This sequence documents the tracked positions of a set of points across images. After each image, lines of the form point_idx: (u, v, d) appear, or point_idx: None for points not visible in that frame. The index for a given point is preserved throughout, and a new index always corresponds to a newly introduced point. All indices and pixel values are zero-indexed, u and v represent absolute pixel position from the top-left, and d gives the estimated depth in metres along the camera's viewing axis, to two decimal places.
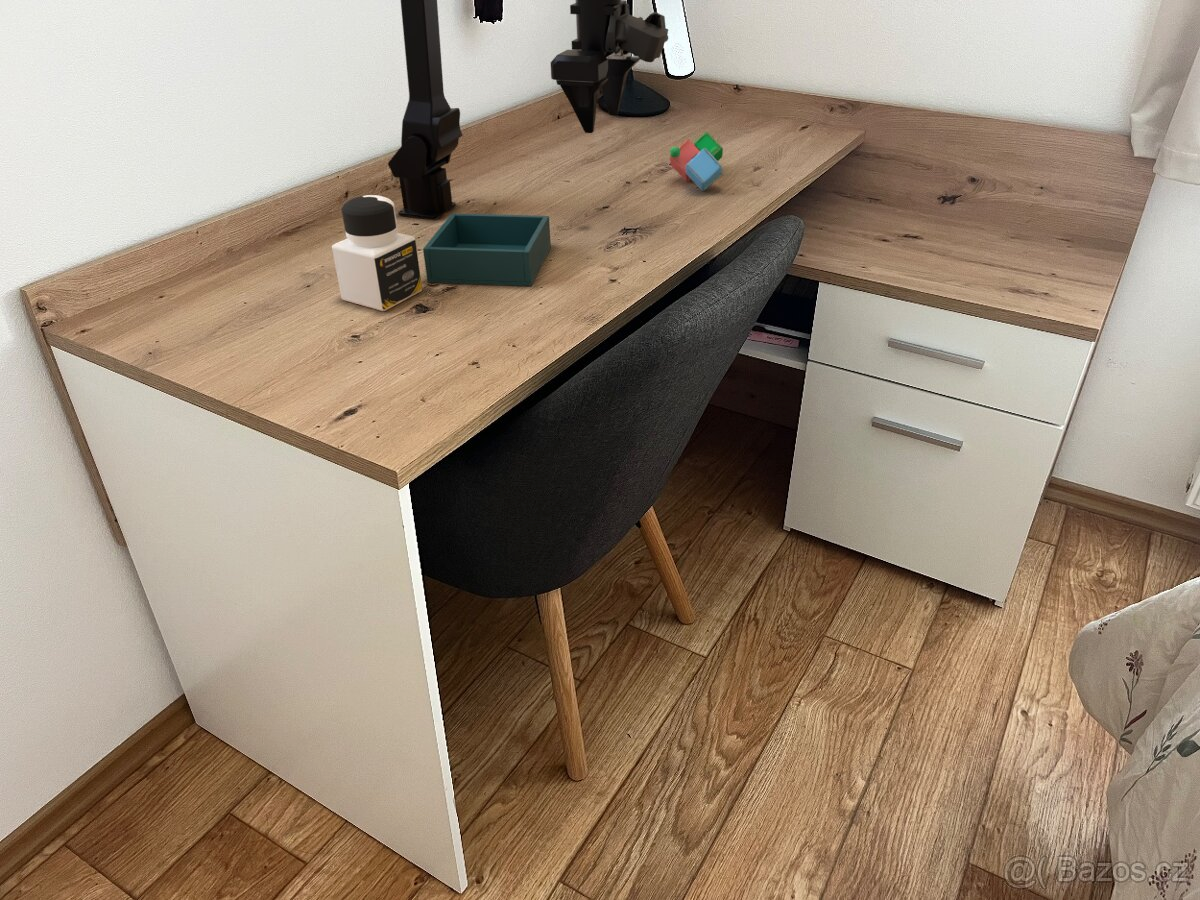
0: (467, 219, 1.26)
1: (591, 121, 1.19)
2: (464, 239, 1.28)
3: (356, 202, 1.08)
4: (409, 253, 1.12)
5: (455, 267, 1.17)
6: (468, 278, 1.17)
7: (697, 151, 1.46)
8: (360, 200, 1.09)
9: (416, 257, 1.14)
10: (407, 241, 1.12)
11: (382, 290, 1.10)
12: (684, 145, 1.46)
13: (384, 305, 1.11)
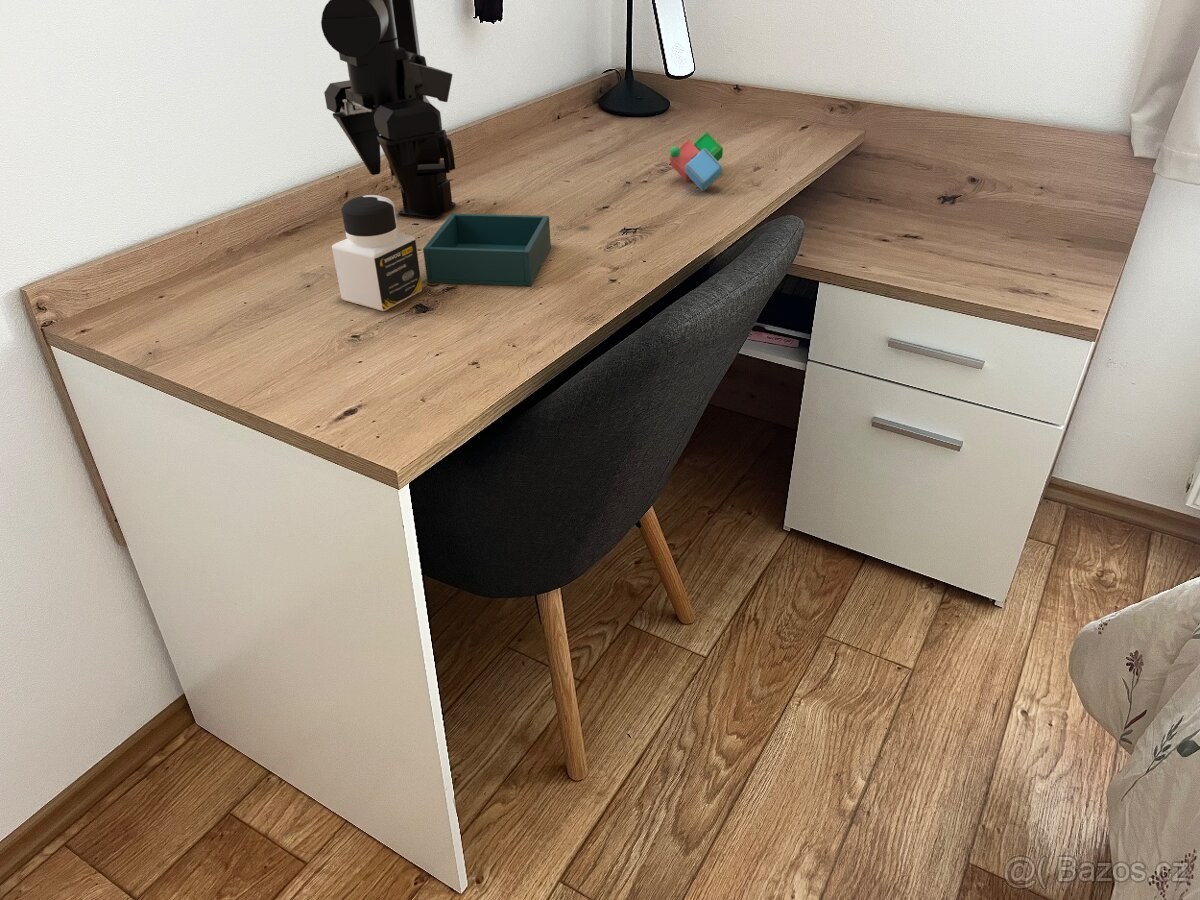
0: (467, 219, 1.26)
1: (413, 179, 1.06)
2: (464, 239, 1.28)
3: (356, 202, 1.08)
4: (409, 253, 1.12)
5: (455, 267, 1.17)
6: (468, 278, 1.17)
7: (697, 151, 1.46)
8: (360, 200, 1.09)
9: (416, 257, 1.14)
10: (407, 241, 1.12)
11: (382, 290, 1.10)
12: (684, 145, 1.46)
13: (384, 305, 1.11)
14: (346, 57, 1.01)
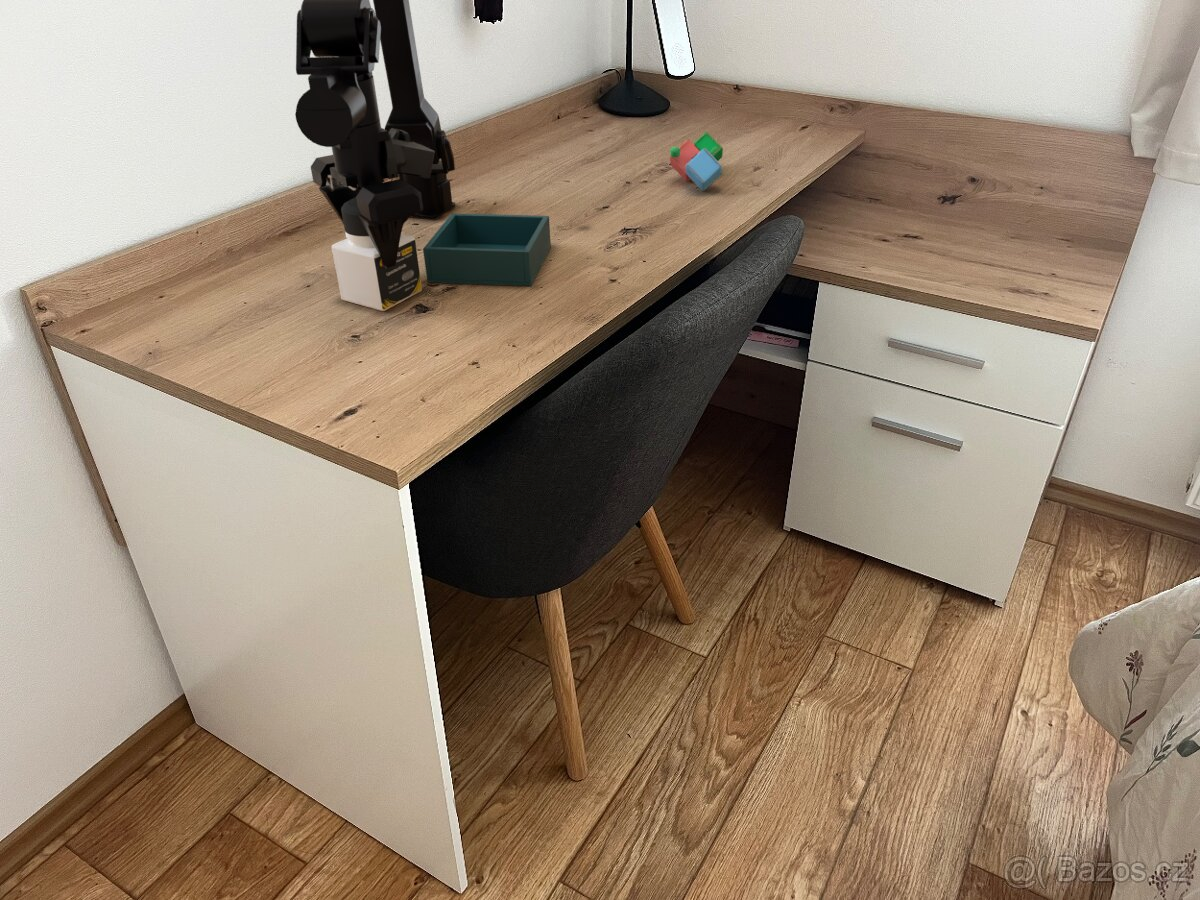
0: (467, 219, 1.26)
1: (395, 253, 1.08)
2: (464, 239, 1.28)
3: (356, 202, 1.08)
4: (409, 253, 1.12)
5: (455, 267, 1.17)
6: (468, 278, 1.17)
7: (697, 151, 1.46)
8: None
9: (416, 257, 1.14)
10: (406, 240, 1.12)
11: (382, 290, 1.10)
12: (684, 145, 1.46)
13: (384, 305, 1.11)
14: None
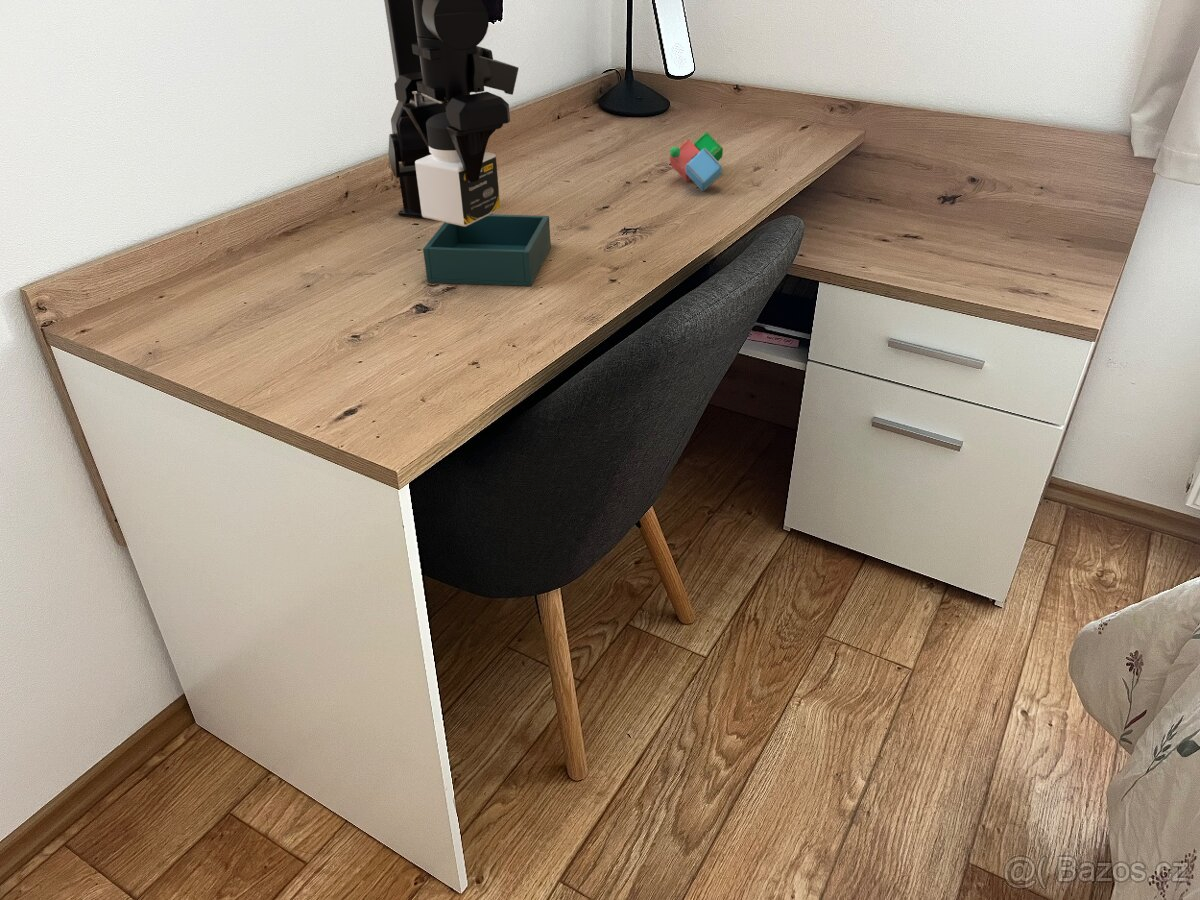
0: None
1: (479, 168, 1.10)
2: (464, 239, 1.28)
3: (441, 116, 1.10)
4: (490, 170, 1.14)
5: (455, 267, 1.17)
6: (468, 278, 1.17)
7: (697, 151, 1.46)
8: (444, 115, 1.11)
9: (496, 175, 1.15)
10: (488, 157, 1.13)
11: (464, 205, 1.12)
12: (684, 145, 1.46)
13: (465, 220, 1.13)
14: (419, 51, 1.06)
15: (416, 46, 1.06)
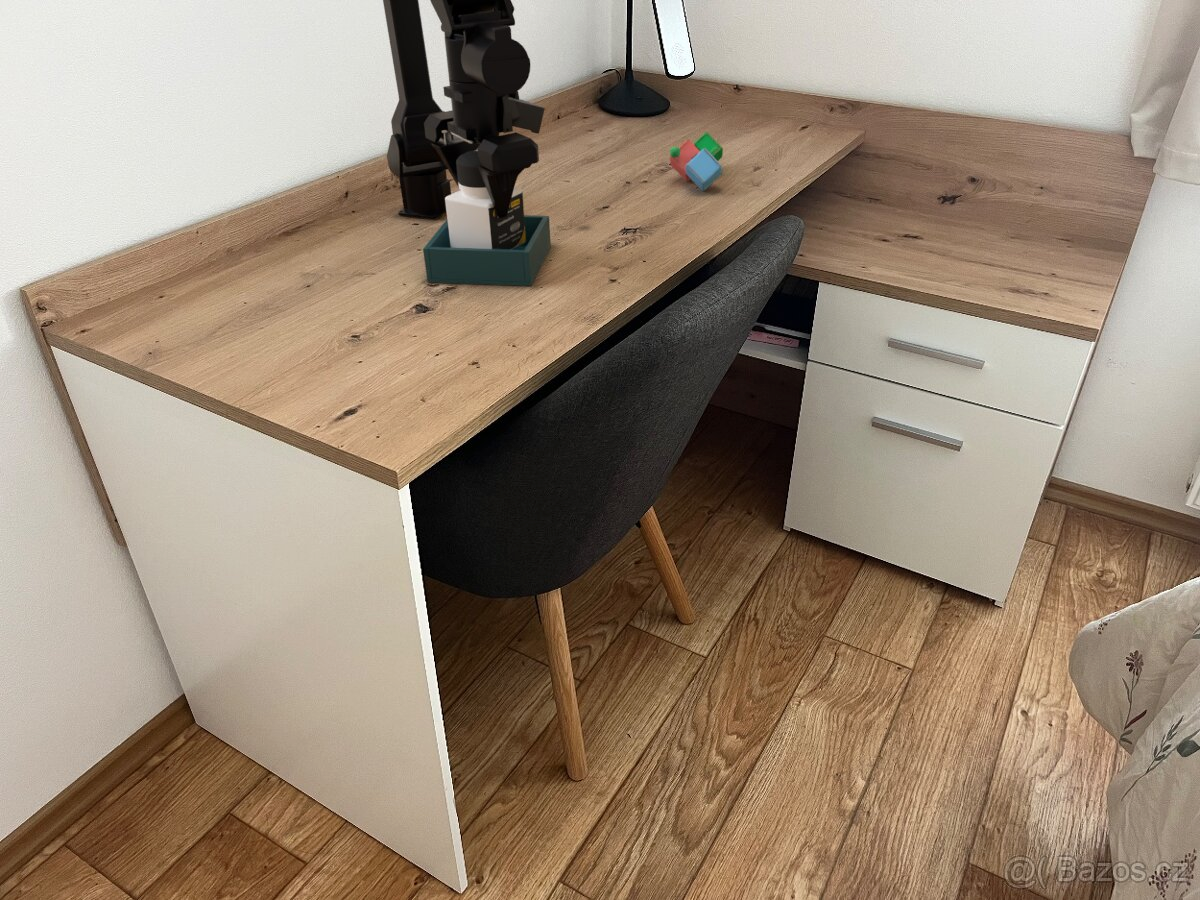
0: None
1: (508, 204, 1.15)
2: None
3: (470, 155, 1.15)
4: (517, 205, 1.19)
5: (455, 267, 1.17)
6: (468, 278, 1.17)
7: (697, 151, 1.46)
8: (474, 154, 1.15)
9: (522, 209, 1.20)
10: (515, 193, 1.18)
11: (493, 239, 1.16)
12: (684, 145, 1.46)
13: None
14: (451, 94, 1.10)
15: (448, 89, 1.10)
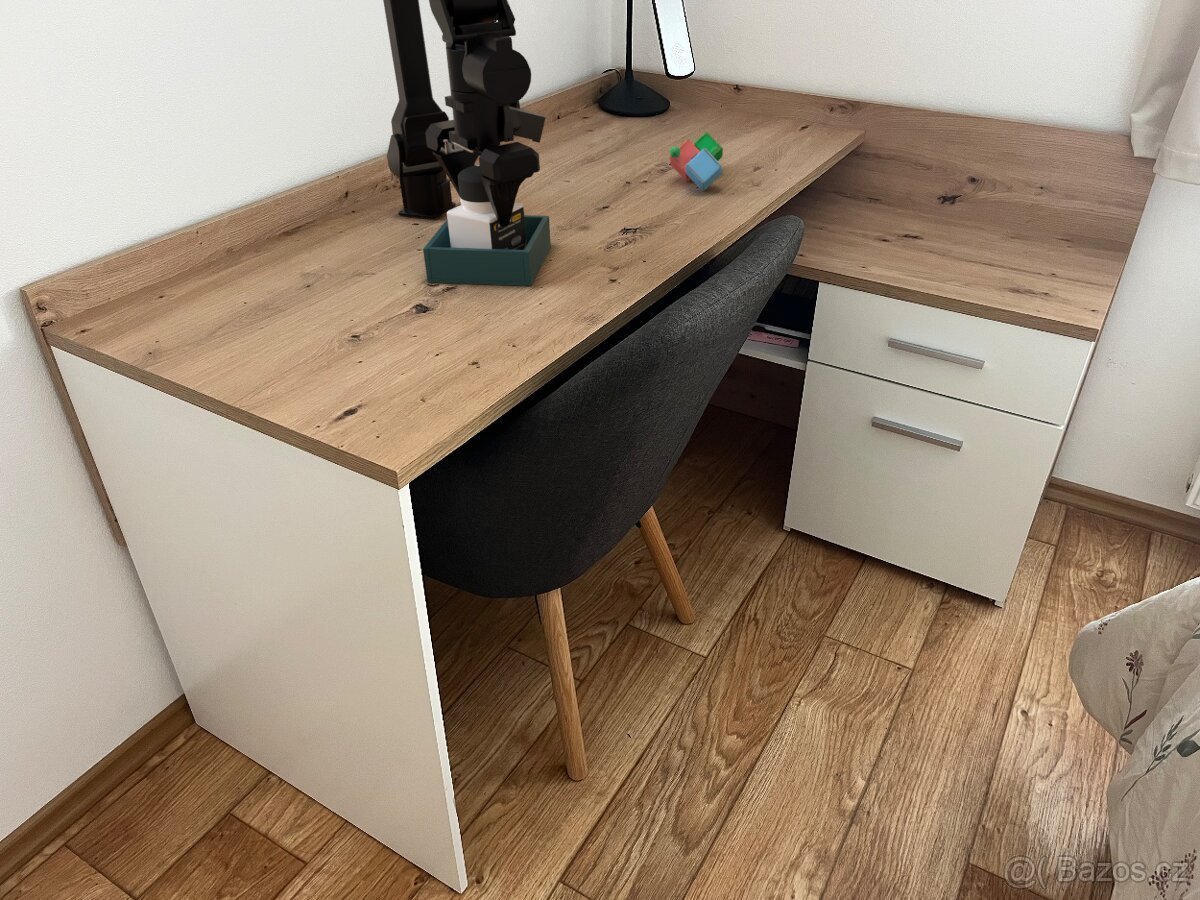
0: None
1: (510, 213, 1.15)
2: None
3: (472, 170, 1.16)
4: (518, 219, 1.20)
5: (455, 267, 1.17)
6: (468, 278, 1.17)
7: (697, 151, 1.46)
8: (475, 169, 1.16)
9: (523, 223, 1.21)
10: (516, 207, 1.19)
11: None
12: (684, 145, 1.46)
13: None
14: (452, 104, 1.11)
15: (449, 99, 1.11)
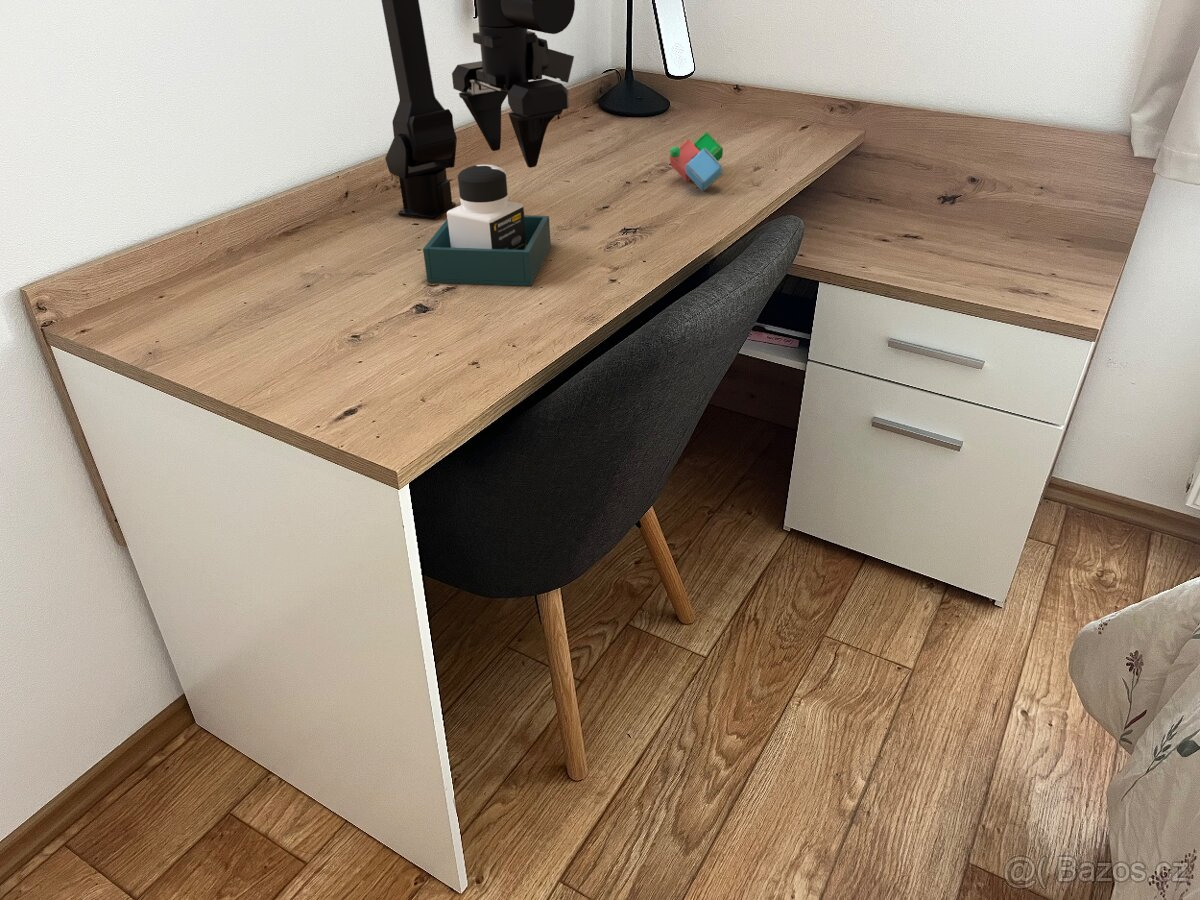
0: None
1: (538, 153, 1.14)
2: None
3: (472, 170, 1.16)
4: (518, 219, 1.20)
5: (455, 267, 1.17)
6: (468, 278, 1.17)
7: (697, 151, 1.46)
8: (475, 169, 1.16)
9: (523, 223, 1.21)
10: (516, 207, 1.19)
11: None
12: (684, 145, 1.46)
13: None
14: (481, 40, 1.09)
15: (477, 35, 1.09)
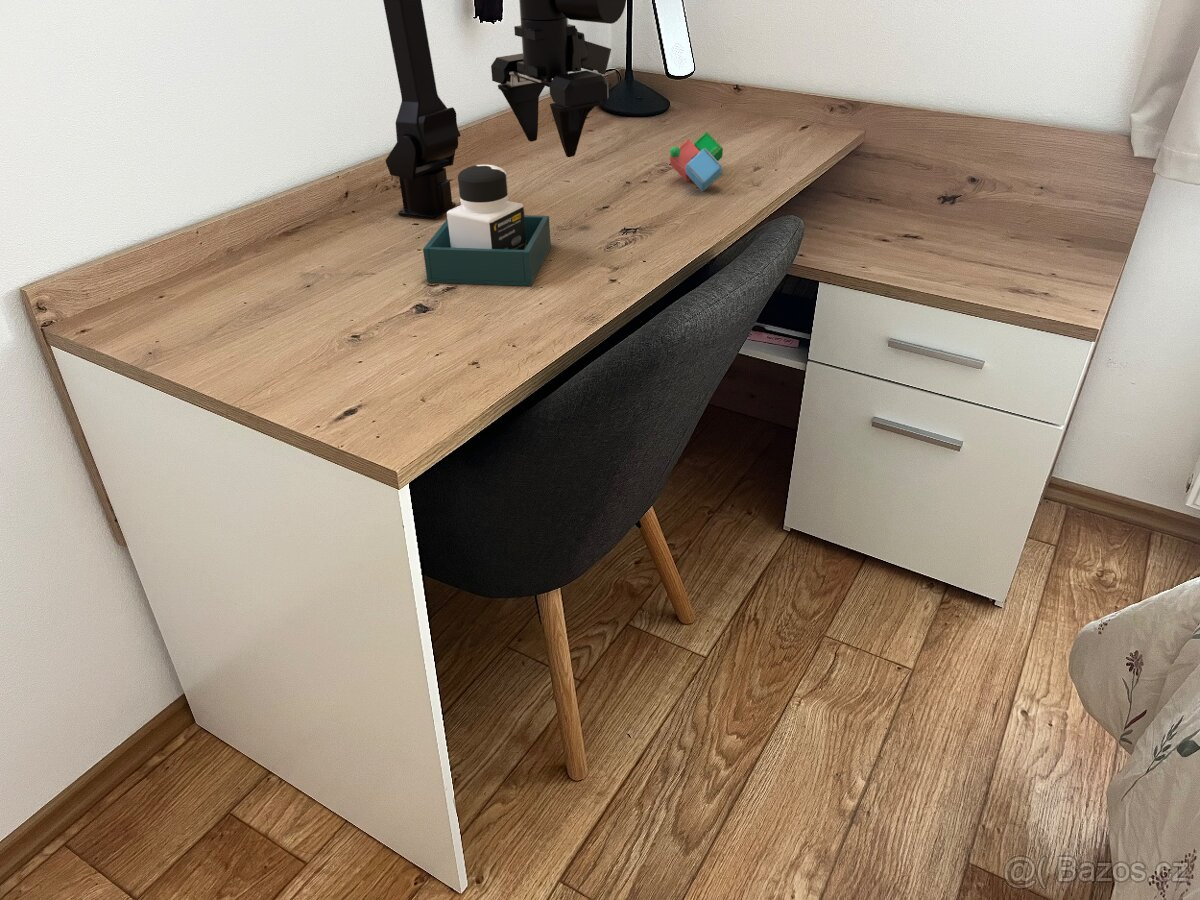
0: None
1: (576, 143, 1.17)
2: None
3: (472, 170, 1.16)
4: (518, 219, 1.20)
5: (455, 267, 1.17)
6: (468, 278, 1.17)
7: (697, 151, 1.46)
8: (475, 169, 1.16)
9: (523, 223, 1.21)
10: (516, 207, 1.19)
11: None
12: (684, 145, 1.46)
13: None
14: (523, 33, 1.12)
15: (519, 28, 1.13)
